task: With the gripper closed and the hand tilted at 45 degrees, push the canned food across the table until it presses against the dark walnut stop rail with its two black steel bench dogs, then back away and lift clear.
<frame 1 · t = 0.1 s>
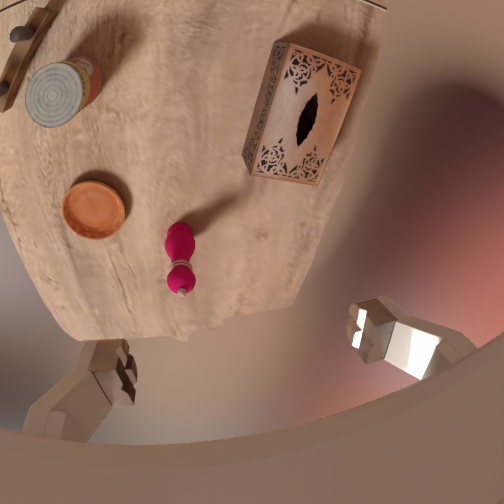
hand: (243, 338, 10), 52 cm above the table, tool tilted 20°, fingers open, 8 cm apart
saucer: (95, 205, 60), on the table
bench stop: (24, 58, 32), on the table
pepper mill: (179, 232, 70), on the table
tissue box cover: (289, 106, 54), on the table
canned food: (77, 82, 40), on the table
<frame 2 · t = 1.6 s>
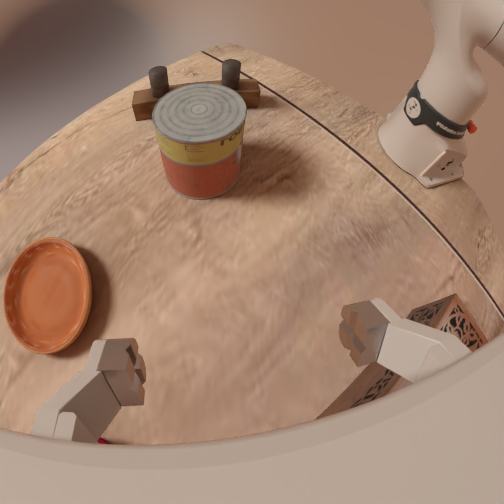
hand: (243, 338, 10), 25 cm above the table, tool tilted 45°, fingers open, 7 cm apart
saucer: (52, 298, 33), on the table
bench stop: (196, 105, 47), on the table
tissue box cover: (387, 407, 32), on the table
canned food: (202, 168, 42), on the table
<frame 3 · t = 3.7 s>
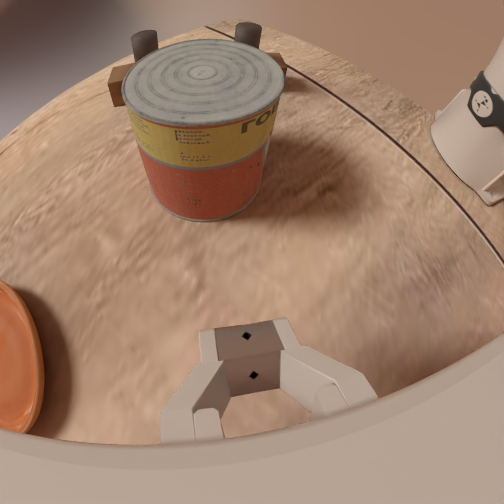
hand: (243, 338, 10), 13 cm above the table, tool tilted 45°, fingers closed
saucer: (0, 360, 18), on the table
bench stop: (197, 85, 33), on the table
canned food: (205, 173, 28), on the table
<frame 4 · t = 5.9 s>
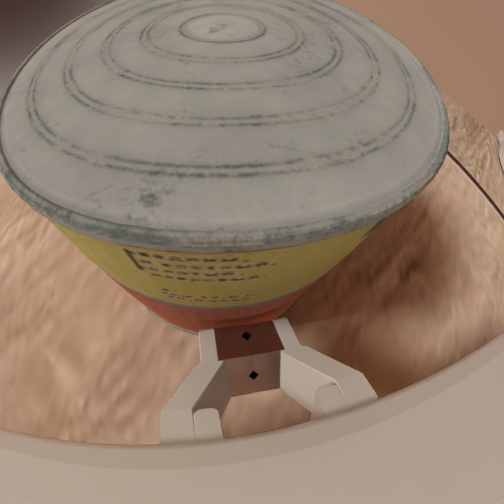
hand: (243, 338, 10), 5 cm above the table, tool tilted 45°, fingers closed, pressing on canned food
canned food: (217, 236, 16), on the table, touching gripper
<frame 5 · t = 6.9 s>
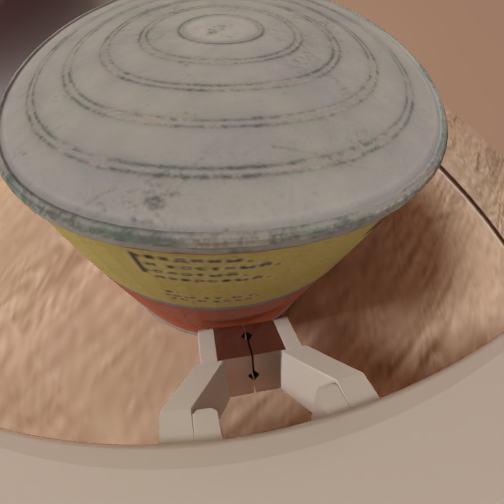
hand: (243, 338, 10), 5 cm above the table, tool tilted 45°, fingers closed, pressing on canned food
canned food: (216, 236, 16), on the table, touching gripper
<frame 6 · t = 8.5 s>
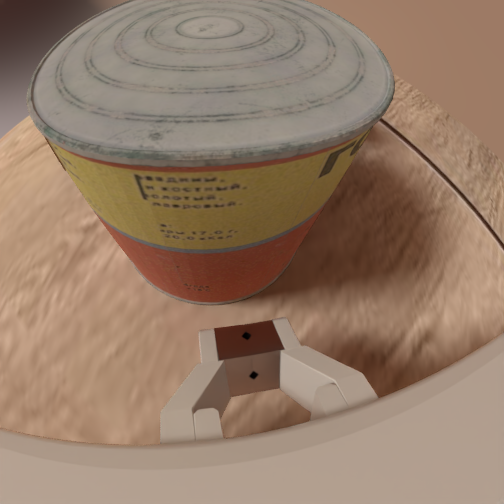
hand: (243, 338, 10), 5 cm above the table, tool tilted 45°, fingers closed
canned food: (211, 214, 18), on the table
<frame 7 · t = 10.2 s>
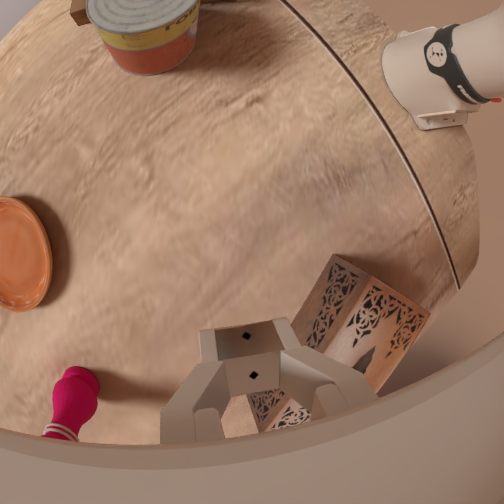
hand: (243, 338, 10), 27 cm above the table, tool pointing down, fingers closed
saucer: (15, 251, 30), on the table
pepper mill: (82, 380, 36), on the table
tissue box cover: (321, 342, 44), on the table
canned food: (153, 39, 27), on the table
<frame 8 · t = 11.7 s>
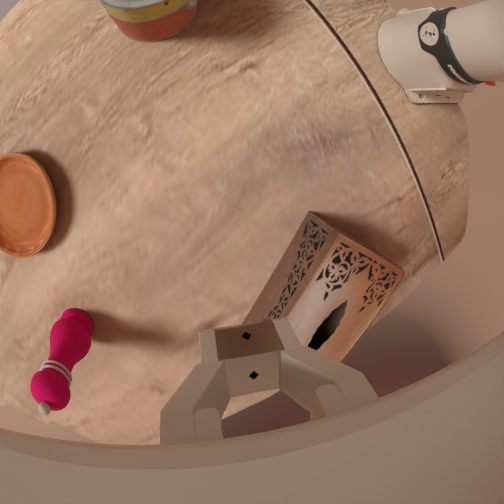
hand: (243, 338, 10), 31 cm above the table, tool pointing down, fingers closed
saucer: (21, 202, 33), on the table
pepper mill: (78, 322, 42), on the table
tissue box cover: (302, 294, 49), on the table
canned food: (156, 9, 26), on the table
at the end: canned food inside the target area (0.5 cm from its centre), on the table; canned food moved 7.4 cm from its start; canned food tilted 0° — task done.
